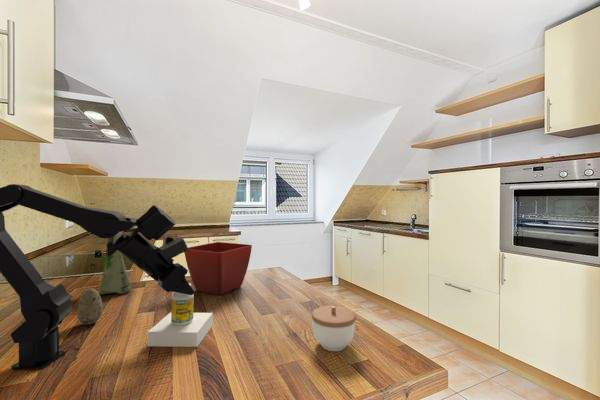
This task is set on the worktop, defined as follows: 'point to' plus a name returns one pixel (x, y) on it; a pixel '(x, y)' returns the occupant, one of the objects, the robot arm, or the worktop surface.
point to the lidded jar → (333, 327)
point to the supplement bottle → (182, 308)
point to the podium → (180, 331)
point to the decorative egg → (89, 307)
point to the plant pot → (218, 266)
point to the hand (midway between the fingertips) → (188, 290)
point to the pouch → (114, 274)
